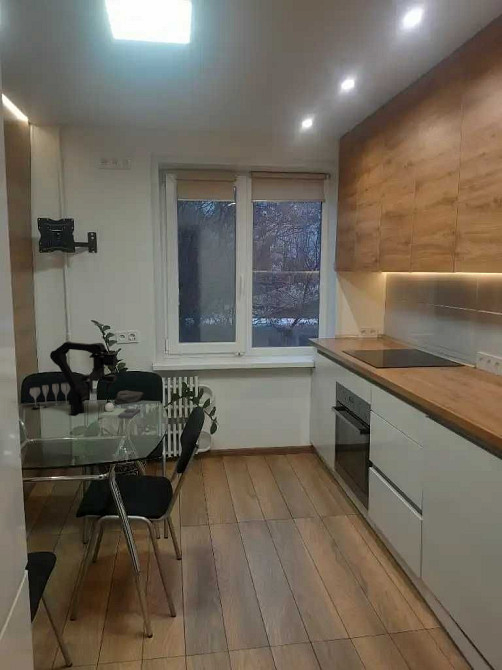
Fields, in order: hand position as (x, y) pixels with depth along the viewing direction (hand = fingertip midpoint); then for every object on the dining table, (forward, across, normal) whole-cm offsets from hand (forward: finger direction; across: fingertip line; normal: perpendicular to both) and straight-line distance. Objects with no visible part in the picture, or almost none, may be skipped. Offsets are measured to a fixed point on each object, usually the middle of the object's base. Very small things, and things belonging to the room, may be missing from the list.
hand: (99, 393), depth 277 cm
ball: (+8, +6, 0) cm, 10 cm away
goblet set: (+12, -34, +15) cm, 39 cm away
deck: (+12, +12, 0) cm, 17 cm away
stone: (+12, +10, +21) cm, 26 cm away
